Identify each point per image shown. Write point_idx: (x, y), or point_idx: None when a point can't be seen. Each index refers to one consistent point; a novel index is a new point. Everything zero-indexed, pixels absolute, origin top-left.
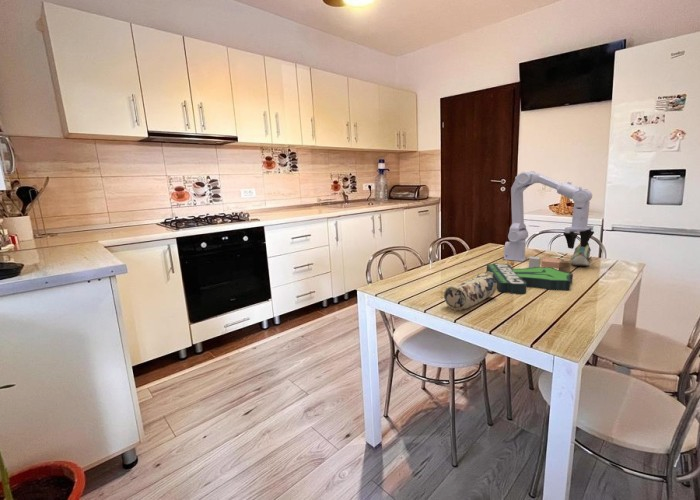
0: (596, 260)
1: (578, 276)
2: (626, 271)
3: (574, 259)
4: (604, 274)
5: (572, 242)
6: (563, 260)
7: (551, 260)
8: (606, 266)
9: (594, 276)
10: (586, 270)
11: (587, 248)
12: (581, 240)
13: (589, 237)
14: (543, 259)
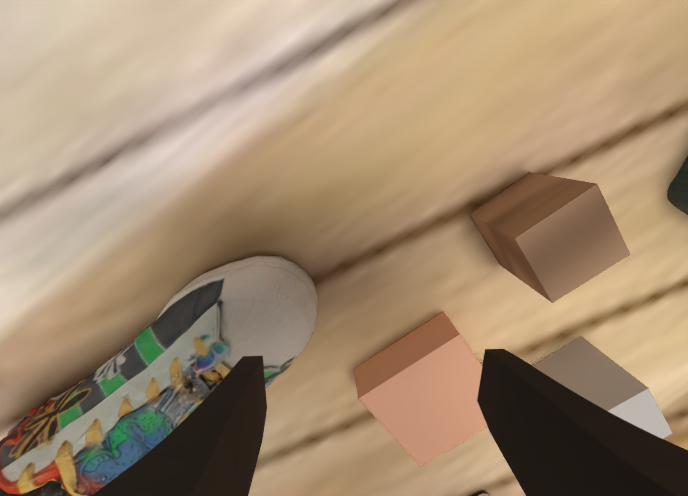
0: (8, 362)
1: (531, 98)
2: (42, 21)
3: (307, 338)
4: (306, 43)
5: (594, 410)
6: (542, 283)
7: (444, 400)
8: (77, 212)
9: (431, 38)
10: (326, 193)
11: (56, 442)
12: (246, 491)
13: (161, 472)
14: (463, 438)
